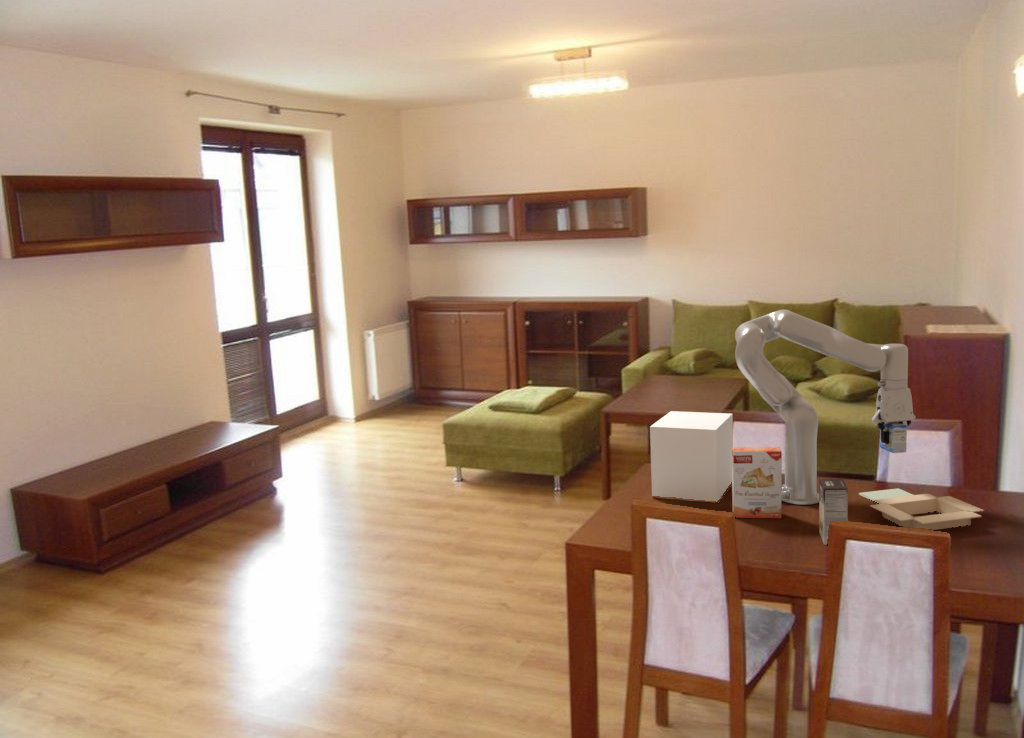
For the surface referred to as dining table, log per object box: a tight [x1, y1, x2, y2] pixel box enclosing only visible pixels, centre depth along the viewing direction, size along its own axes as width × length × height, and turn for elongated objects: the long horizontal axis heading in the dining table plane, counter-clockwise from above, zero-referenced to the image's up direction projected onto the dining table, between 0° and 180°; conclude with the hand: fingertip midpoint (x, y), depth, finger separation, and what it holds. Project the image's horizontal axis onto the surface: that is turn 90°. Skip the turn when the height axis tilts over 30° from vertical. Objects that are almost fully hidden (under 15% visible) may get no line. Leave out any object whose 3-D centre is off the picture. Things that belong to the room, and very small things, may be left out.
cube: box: [649, 410, 734, 502], centre depth 280 cm, size 25×21×24 cm
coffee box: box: [818, 478, 849, 546], centre depth 229 cm, size 9×6×16 cm
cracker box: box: [731, 446, 783, 519], centre depth 251 cm, size 14×6×21 cm, turn 80°
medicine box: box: [879, 422, 908, 454], centre depth 259 cm, size 8×4×9 cm, turn 5°
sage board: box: [858, 488, 914, 504], centre depth 262 cm, size 14×14×1 cm
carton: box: [869, 493, 985, 531], centre depth 240 cm, size 26×22×4 cm
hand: (893, 441), depth 259 cm, fingers closed on medicine box, 4 cm apart
